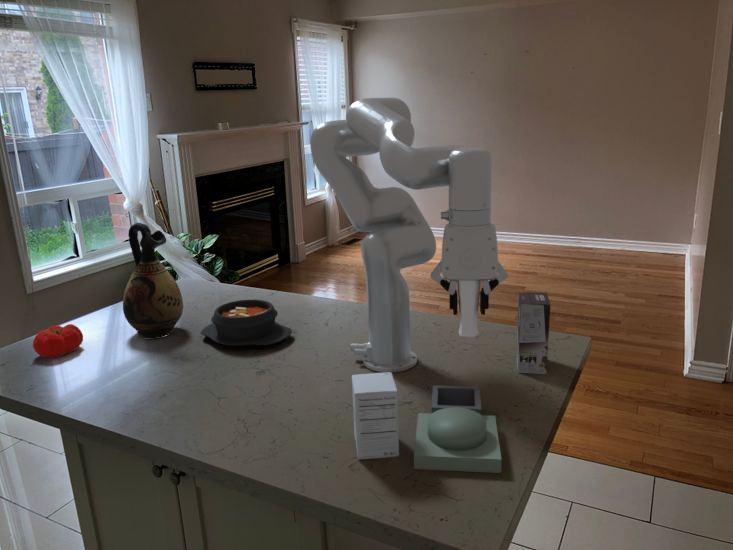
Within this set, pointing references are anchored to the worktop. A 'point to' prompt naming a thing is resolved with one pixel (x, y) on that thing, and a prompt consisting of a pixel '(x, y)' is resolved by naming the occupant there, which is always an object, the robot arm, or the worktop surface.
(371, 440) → the supplement box
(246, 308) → the casserole
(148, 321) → the ceramic jug
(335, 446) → the worktop surface
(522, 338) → the coffee box
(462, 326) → the perfume bottle
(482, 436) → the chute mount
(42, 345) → the tomato
